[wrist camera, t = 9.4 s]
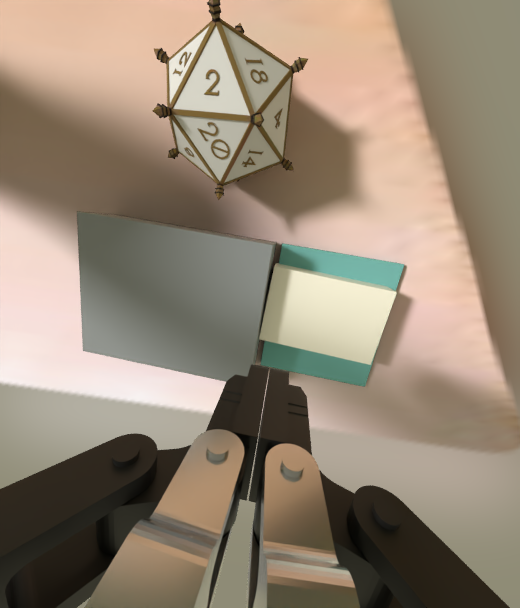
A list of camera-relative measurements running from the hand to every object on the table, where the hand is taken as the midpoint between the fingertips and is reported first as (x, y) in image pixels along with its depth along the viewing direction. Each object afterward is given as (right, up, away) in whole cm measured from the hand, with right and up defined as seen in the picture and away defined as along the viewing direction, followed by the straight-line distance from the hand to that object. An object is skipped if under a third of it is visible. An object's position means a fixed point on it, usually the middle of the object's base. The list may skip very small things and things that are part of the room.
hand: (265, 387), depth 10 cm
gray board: (-7, +4, +13) cm, 15 cm away
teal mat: (+5, +2, +12) cm, 13 cm away
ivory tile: (+5, +3, +11) cm, 13 cm away
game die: (-2, +16, +9) cm, 18 cm away
